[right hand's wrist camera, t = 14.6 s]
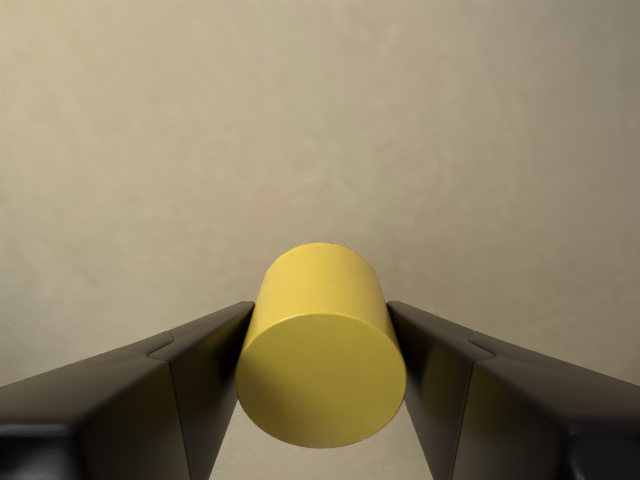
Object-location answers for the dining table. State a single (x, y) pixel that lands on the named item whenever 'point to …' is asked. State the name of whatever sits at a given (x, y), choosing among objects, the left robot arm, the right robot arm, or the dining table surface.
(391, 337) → the cylinder
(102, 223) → the dining table surface
